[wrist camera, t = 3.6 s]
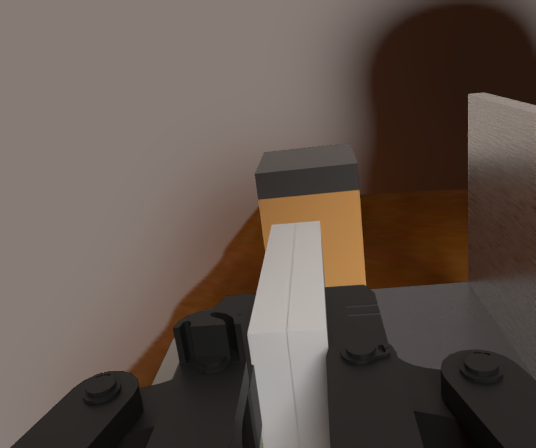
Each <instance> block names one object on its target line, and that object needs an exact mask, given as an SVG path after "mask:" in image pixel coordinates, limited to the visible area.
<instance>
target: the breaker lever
mask: <svg viewBox="0 0 536 448" xmlns="http://www.w3.org/2000/svg"><path fill="white" fill-rule="evenodd" d="M255 178H256V186H257V193H258V201H259V209H260V216H261V223H262V231H263V238H264V246H265V253H266V248H267V244H268V239H269V235H270V230H271V226H272V225H275V224H287V223H299V222H311V221H320V227H321V238H322V250H323V261H324V273H325V284H326V287H334V286H348V285H363V284H364V285H365V286H366V277H365V263H364V248H363V234H362V219H361V205H360V191H359V177H358V163H357V161H356V158H355V156H354V153H353V151H352V149H351V146H350V144H349V143H345V144H336V145H327V146H319V147H308V148H299V149H290V150H281V151H272V152H264V154H263V156H262V159H261V161H260V163H259V166H258V168H257V170H256V172H255Z"/></svg>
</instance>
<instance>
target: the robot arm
mask: <svg viewBox="0 0 536 448" xmlns="http://www.w3.org/2000/svg"><path fill="white" fill-rule="evenodd" d="M173 331H174V336H175V342H176V347H177V352H178V357H179V362H180V366H179V369H178V371H177V374H176V376H175V378H173V379H171V380H169V381H166V382H163V383H159V384H155V385H151V386H147V387H144V388H139V383H138V379H137V378H136V377H135V376H134V375H133V374H131V373H128V372H124V371H109V372H104V373H100V374H97V375H95V376H93V377H91V378H89V379H86V380H84V381H83V382H82V383H80V384H79V385H77V386H76V387H74V388H73V389H72V390H71V391H70V392H69V393H68V394H67V395H66V396H65V397H64V398H63V399H62V400H61V401H59V402H58V403H57V404H56V405H55V406H54V407H53V408H52V409H51V410H50V411H49V412H48V413H47V414H46V415H45V416H43V418H41V419H40V420H39V421H38V422H37V423H36V424H35V425H34V426H33V427H32V428H31V429H30V430H29V431H28V432H27V433H25V435H23V436H22V437H21V438H20V439H19V440H18V441H17V442H16V443H15V444H14V445H13V446H12V447H11V448H260V440H261V434H262V441H263V448H536V380H535V379H534V378H533V377H532V376H531V375H530V374H528V373H527V372H526V371H525V370H524V369H523V368H522V367H520V366H519V365H518V364H517V363H515V362H514V361H512V360H511V359H509V358H508V357H506V356H504V355H501V354H498V353H495V352H492V351H487V350H478V349H473V350H461V351H458V352H456V353H453V354H450V355H449V356H447V357H446V358H445V359H444V360H443V361H442V365H441V370H439V369H432V368H425V367H420V366H416V365H413V364H410V363H407V362H405V361H403V360H402V359H400V358H398V356H397V352H396V351H395V349H394V348H393V346H392V345H390V344H389V343H388V340H387V336H386V332H385V329H384V325H383V321H382V318H381V314H380V310H379V307H378V303H377V299H376V296H375V293H374V292H373V291H372V290H370V289H369V288H368V287H367V286H365V285H364V284H363V285H348V286H334V287H326V284H325V273H324V261H323V250H322V238H321V227H320V221H311V222H299V223H287V224H275V225H272V226H271V230H270V235H269V239H268V244H267V248H266V253H265V257H264V262H263V266H262V270H261V275H260V279H259V284H258V288H257V293H255V294H241V295H227V296H226V297H225V298H224V299H223V300H222V301H220V302H219V303H218V304H217V305H216V307H215V309H212V310H206V311H200V312H197V313H194V314H191V315H188V316H186V317H185V318H183V319H181V320H180V321H178V323H177V324H176V325H175V326H174V327H173Z"/></svg>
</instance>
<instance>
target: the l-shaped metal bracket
mask: <svg viewBox="0 0 536 448" xmlns="http://www.w3.org/2000/svg"><path fill="white" fill-rule="evenodd" d="M370 290H372V291H373V292H374V293H375V296H376V299H377V303H378V307H379V310H380V314H381V318H382V321H383V325H384V329H385V332H386V336H387V340H388V343H389V344H390V345H392V346H393V348H394V349H395V351H396V352H397V356H398V358H400V359H402V360H403V361H405V362H407V363H410V364H413V365H416V366H420V367H425V368H432V369H439V370H441V365H442V361H443V360H444V359H445V358H446V357H447V356H449V355H450V354H453V353H456V352H458V351H461V350H473V349H478V350H487V351H492V352H495V353H498V354H501V355H504V356H506V357H508V358H509V359H511V360H512V361H514V362H515V363H517V364H518V365H519V366H520V367H522V368H523V369H524V370H525V371H526V372H527V373H528V374H530V375H531V376H532V377H533V378H534V379H535V380H536V105H532V104H527V103H524V102H519V101H516V100H511V99H508V98H503V97H499V96H495V95H492V94H487V93H475V94H469V95H468V282H462V283H449V284H436V285H423V286H410V287H397V288H383V289H370ZM260 448H263V441H262V434H261V440H260Z"/></svg>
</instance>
